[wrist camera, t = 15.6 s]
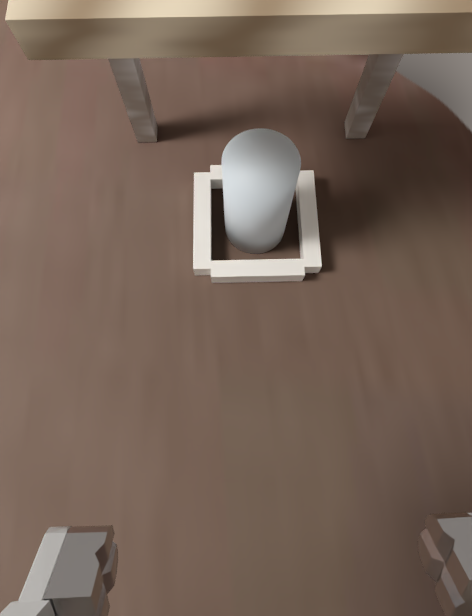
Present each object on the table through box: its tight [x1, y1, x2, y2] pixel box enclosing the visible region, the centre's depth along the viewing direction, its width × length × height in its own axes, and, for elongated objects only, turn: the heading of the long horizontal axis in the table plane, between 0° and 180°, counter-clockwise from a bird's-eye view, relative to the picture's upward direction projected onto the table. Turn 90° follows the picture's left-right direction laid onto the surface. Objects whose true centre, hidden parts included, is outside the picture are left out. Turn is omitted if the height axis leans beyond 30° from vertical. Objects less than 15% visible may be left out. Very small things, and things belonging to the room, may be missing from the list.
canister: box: [222, 128, 301, 254], centre depth 25 cm, size 4×4×8 cm
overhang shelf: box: [5, 0, 472, 142], centre depth 22 cm, size 18×10×16 cm, turn 91°
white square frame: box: [193, 165, 322, 283], centre depth 29 cm, size 9×9×1 cm
